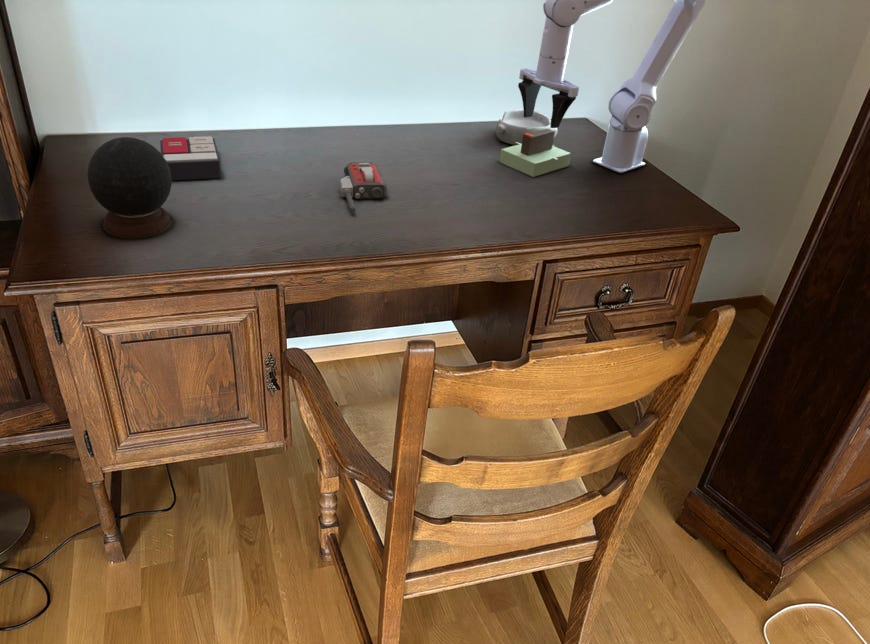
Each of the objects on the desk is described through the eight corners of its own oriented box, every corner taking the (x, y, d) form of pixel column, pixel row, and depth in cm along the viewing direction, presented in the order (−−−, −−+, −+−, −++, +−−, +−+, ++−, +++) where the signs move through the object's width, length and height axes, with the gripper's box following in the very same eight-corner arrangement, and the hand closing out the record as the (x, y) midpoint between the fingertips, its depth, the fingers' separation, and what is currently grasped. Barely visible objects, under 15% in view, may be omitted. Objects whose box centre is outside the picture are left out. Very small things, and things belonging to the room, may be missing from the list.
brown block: (544, 146, 167) (547, 127, 165) (551, 149, 166) (555, 130, 163) (520, 152, 163) (523, 133, 160) (527, 155, 161) (530, 136, 159)
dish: (496, 146, 173) (499, 125, 170) (491, 127, 185) (493, 106, 182) (557, 150, 174) (561, 129, 171) (548, 130, 185) (552, 110, 182)
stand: (531, 150, 173) (533, 137, 171) (572, 167, 166) (575, 153, 164) (495, 160, 166) (497, 146, 164) (536, 179, 159) (538, 164, 157)
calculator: (214, 134, 157) (219, 156, 145) (215, 154, 160) (221, 178, 148) (159, 136, 154) (160, 159, 142) (162, 156, 157) (163, 181, 145)
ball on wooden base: (100, 245, 123) (83, 157, 114) (94, 212, 132) (77, 128, 123) (183, 235, 127) (172, 150, 119) (170, 204, 137) (160, 123, 128)
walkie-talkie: (334, 174, 153) (347, 216, 138) (334, 154, 151) (347, 194, 135) (376, 174, 155) (393, 215, 139) (377, 153, 153) (395, 193, 137)
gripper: (514, 48, 154) (504, 114, 162) (568, 66, 146) (555, 135, 154) (536, 45, 158) (525, 110, 166) (590, 63, 150) (576, 129, 158)
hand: (541, 121), depth 160 cm, fingers open, 7 cm apart
